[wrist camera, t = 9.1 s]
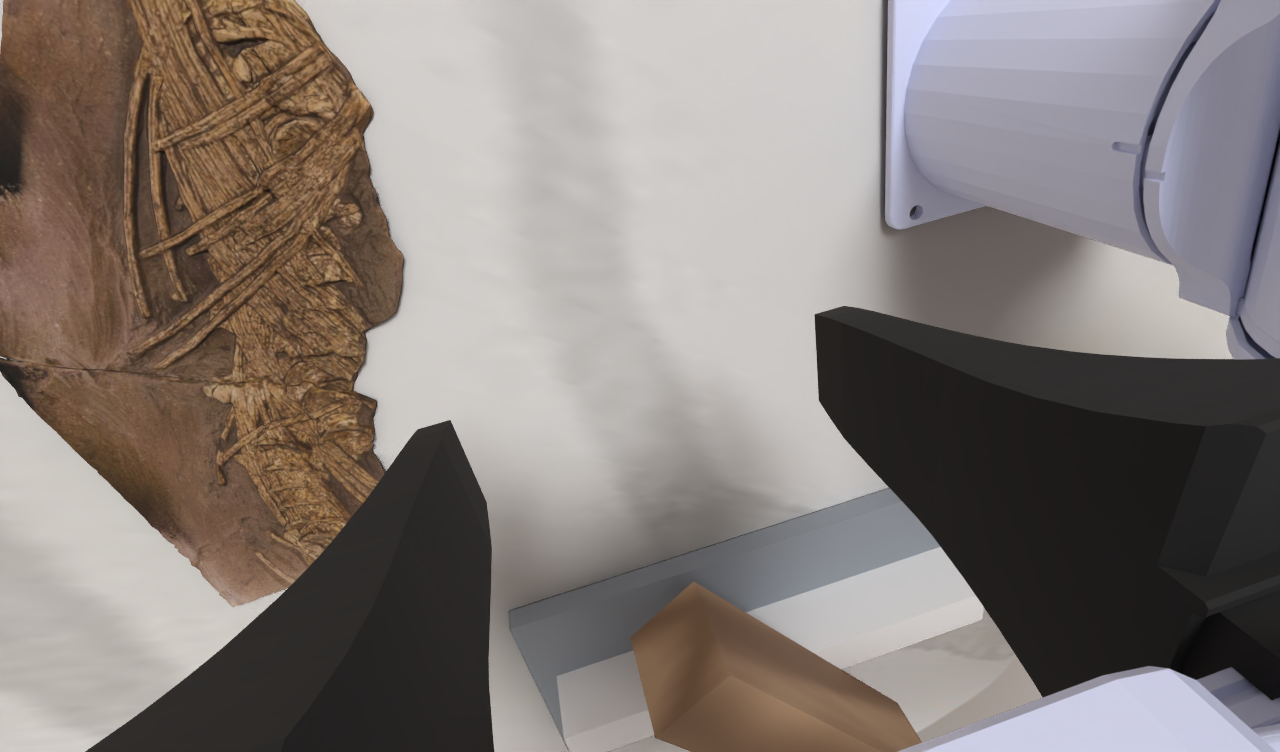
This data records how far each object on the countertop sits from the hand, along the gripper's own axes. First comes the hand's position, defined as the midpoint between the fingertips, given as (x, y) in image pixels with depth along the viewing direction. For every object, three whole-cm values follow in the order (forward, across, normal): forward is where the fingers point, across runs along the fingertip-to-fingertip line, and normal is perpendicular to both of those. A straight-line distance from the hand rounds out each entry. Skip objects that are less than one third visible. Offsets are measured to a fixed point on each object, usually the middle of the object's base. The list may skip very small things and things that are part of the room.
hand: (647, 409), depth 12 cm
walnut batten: (+6, -4, +20) cm, 21 cm away
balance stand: (+10, -4, +20) cm, 23 cm away
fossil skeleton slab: (+10, +11, -2) cm, 15 cm away
